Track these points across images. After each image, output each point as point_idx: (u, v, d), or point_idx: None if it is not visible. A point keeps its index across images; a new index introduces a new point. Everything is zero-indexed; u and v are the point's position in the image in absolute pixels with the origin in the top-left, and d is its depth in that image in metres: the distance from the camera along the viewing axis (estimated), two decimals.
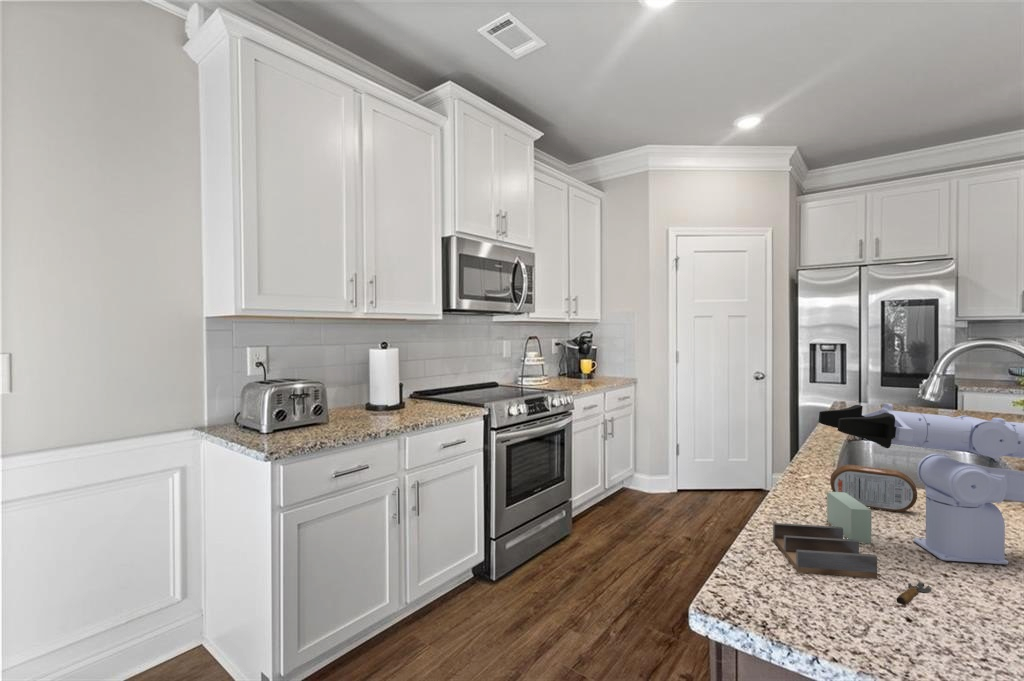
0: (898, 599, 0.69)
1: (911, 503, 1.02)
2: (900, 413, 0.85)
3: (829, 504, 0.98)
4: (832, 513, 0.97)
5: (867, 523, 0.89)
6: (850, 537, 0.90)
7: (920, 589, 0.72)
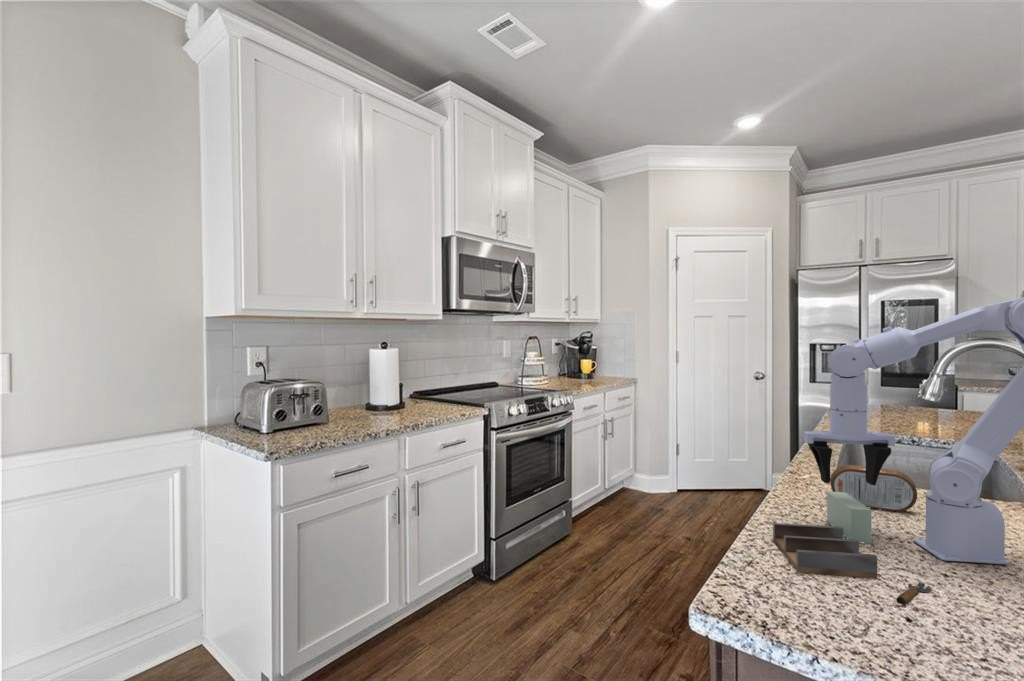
0: (898, 599, 0.69)
1: (911, 503, 1.02)
2: None
3: (829, 504, 0.98)
4: (832, 513, 0.97)
5: (867, 523, 0.89)
6: (850, 537, 0.90)
7: (920, 589, 0.72)
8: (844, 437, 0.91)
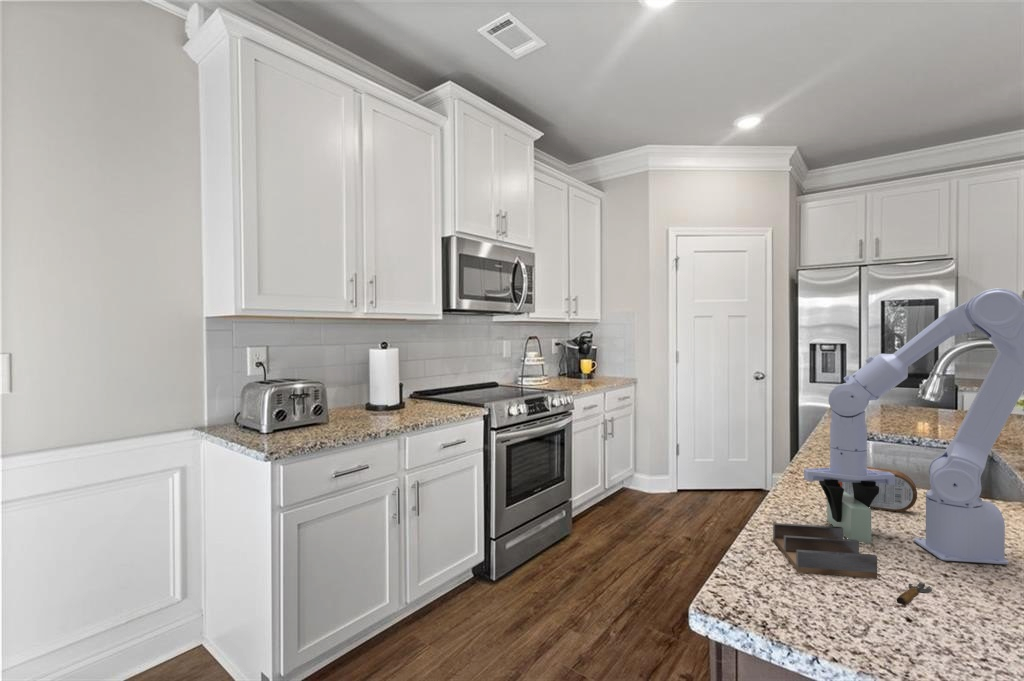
0: (898, 599, 0.69)
1: (911, 503, 1.02)
2: None
3: None
4: None
5: (867, 522, 0.89)
6: (850, 536, 0.90)
7: (920, 590, 0.72)
8: (844, 476, 0.92)
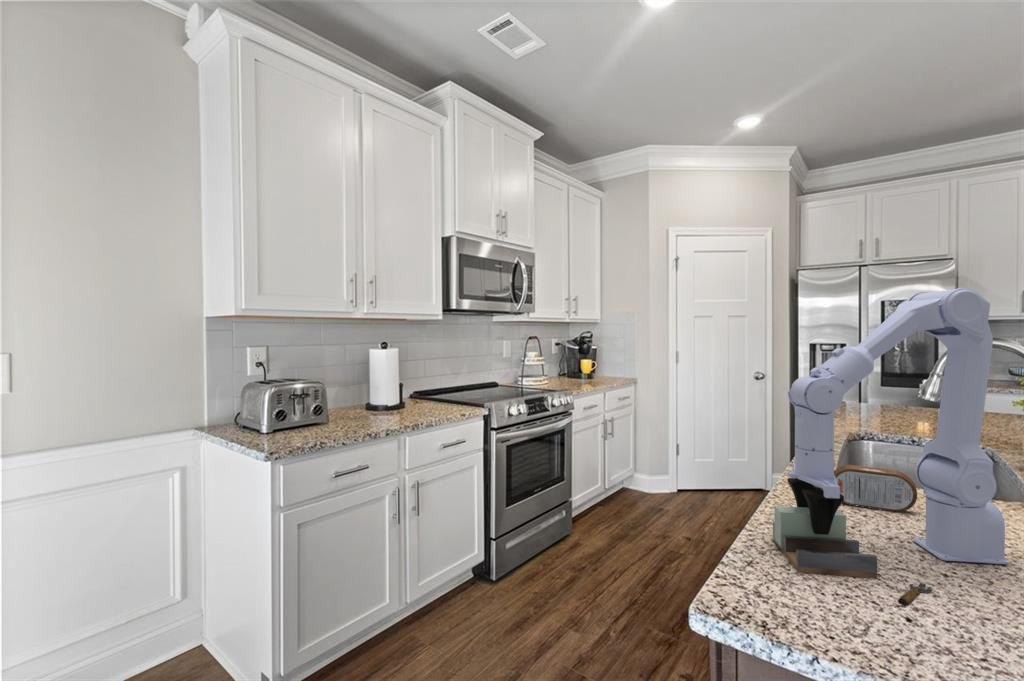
0: (900, 600, 0.69)
1: (911, 503, 1.02)
2: (799, 467, 0.85)
3: (786, 525, 0.85)
4: (796, 533, 0.85)
5: None
6: None
7: (921, 590, 0.72)
8: (835, 478, 0.84)
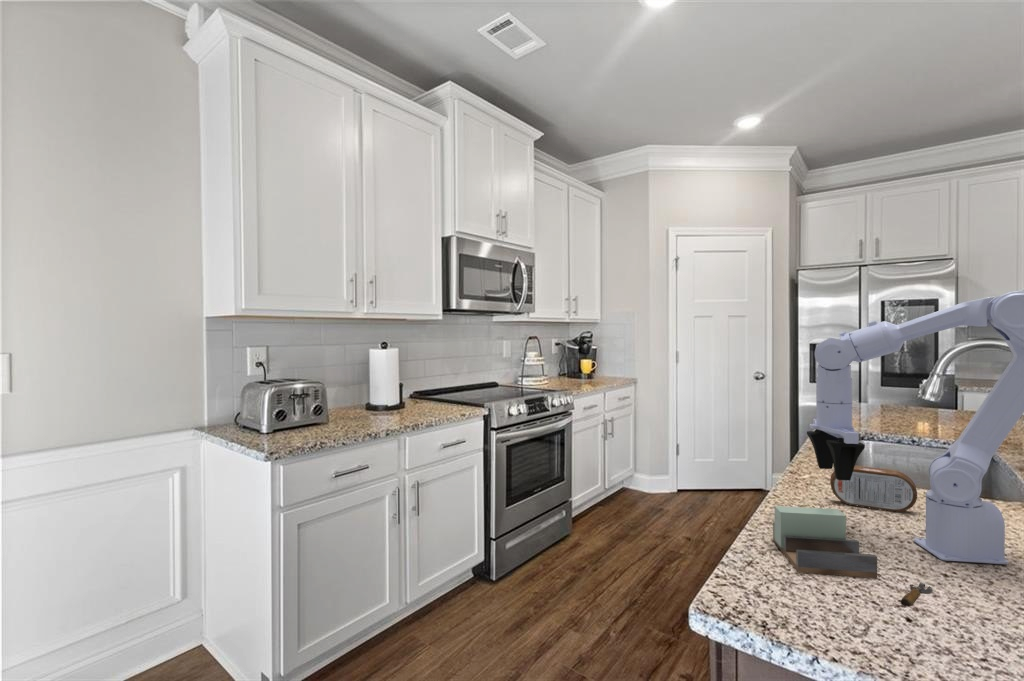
0: (902, 601, 0.69)
1: (911, 503, 1.02)
2: (821, 419, 0.94)
3: (786, 525, 0.85)
4: (796, 533, 0.85)
5: None
6: None
7: (922, 590, 0.72)
8: (853, 428, 0.93)
